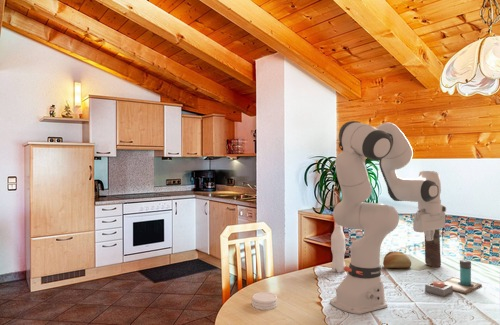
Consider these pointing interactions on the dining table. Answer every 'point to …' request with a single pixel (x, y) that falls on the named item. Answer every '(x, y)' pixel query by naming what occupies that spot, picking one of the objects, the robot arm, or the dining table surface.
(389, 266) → the bread roll
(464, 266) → the teal spice jar
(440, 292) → the button housing
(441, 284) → the button
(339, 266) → the water bottle
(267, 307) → the coaster
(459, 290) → the clipboard
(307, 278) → the dining table surface
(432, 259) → the candle
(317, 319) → the dining table surface
